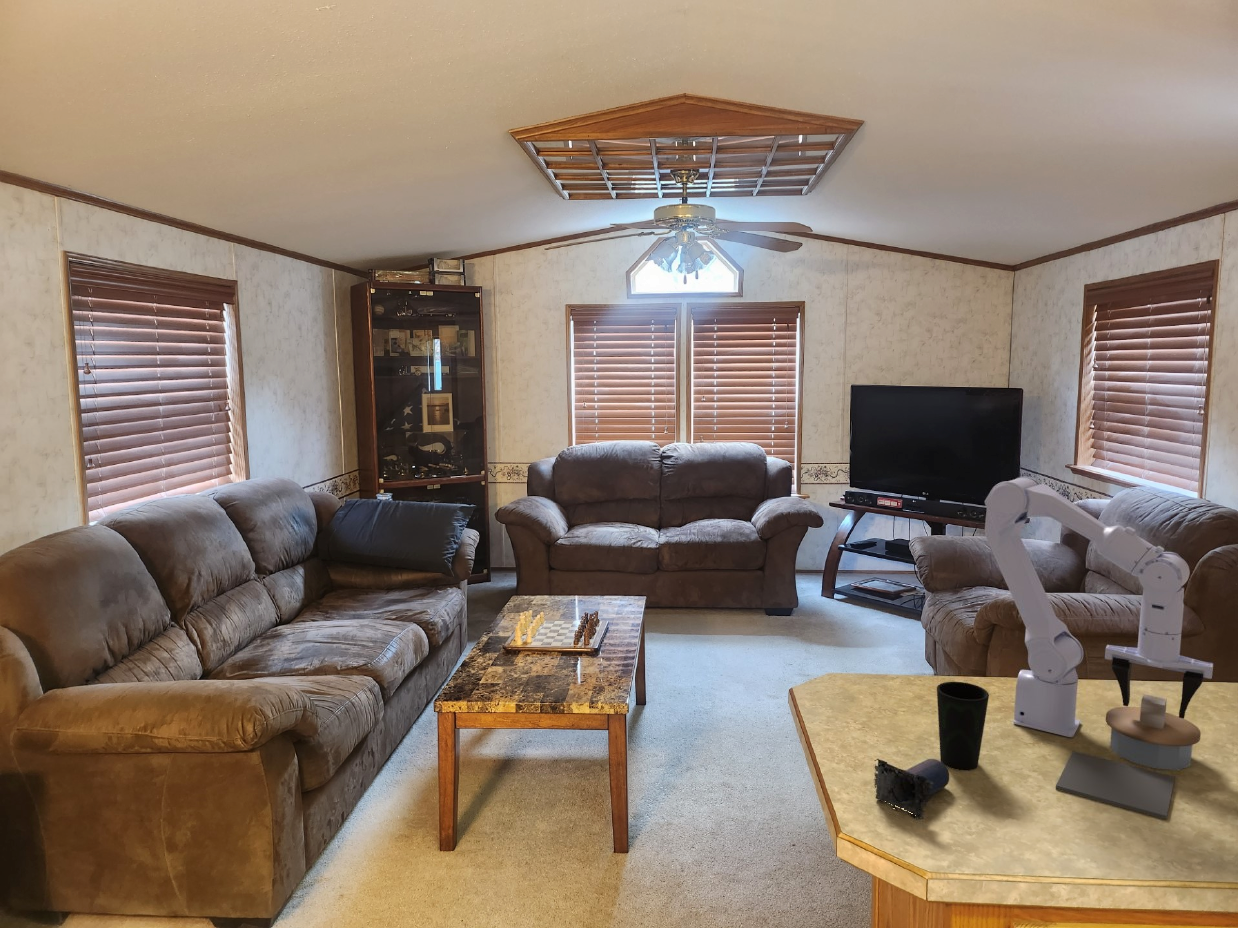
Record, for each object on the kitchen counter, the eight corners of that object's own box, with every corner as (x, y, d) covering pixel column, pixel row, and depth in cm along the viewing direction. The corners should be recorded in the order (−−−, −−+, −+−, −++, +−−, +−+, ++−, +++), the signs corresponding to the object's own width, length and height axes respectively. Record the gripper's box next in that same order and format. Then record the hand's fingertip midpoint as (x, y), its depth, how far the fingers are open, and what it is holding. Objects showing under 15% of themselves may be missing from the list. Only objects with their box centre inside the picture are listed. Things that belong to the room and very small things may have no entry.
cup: (985, 756, 137) (989, 685, 135) (984, 777, 130) (988, 703, 128) (935, 747, 140) (938, 678, 138) (931, 767, 133) (934, 695, 131)
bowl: (1106, 755, 137) (1108, 729, 136) (1116, 731, 145) (1117, 707, 145) (1187, 776, 130) (1190, 748, 129) (1192, 749, 139) (1195, 723, 138)
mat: (1055, 788, 126) (1055, 785, 126) (1072, 753, 137) (1072, 750, 137) (1166, 819, 118) (1166, 815, 118) (1174, 779, 129) (1175, 776, 129)
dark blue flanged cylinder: (918, 831, 118) (955, 803, 126) (932, 783, 116) (969, 758, 124) (862, 796, 124) (901, 772, 132) (874, 750, 122) (913, 728, 131)
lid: (1100, 731, 135) (1102, 702, 135) (1111, 704, 146) (1113, 678, 145) (1197, 754, 128) (1200, 724, 127) (1202, 724, 138) (1205, 696, 137)
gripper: (1104, 626, 136) (1098, 706, 138) (1214, 645, 127) (1206, 730, 129) (1111, 616, 142) (1105, 693, 143) (1216, 632, 133) (1208, 714, 135)
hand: (1153, 709), depth 137 cm, fingers open, 7 cm apart
